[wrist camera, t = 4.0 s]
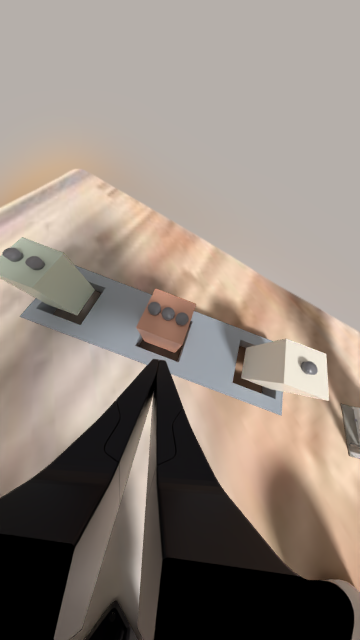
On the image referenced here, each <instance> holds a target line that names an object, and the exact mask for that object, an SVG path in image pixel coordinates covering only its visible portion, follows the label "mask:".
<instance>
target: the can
mask: <svg viewBox="0 0 360 640" xmlns="http://www.w3.org/2000/svg"><path fill="white" fill-rule="evenodd" d="M328 581H334V582H336V583H337V584H338V585H339V586H340V587H341V588H342V589H343V591H344V592H345V593H346V594H347V596H348V597H349V599H350V601H351V604H352V607H353V610H354V629H353V635H352V640H360V592H359V591H358V590H357V589H356V588H355V587H354V586H352V585H351V584H350V583H349V582H347V581H343V580H339V579H337V580H333V579H329V580H328Z"/></svg>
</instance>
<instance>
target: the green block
mask: <svg viewBox="0 0 360 640" xmlns="http://www.w3.org/2000/svg"><path fill="white" fill-rule="evenodd" d="M0 279H2V280H4V281H6V282H8V283H9V284H11V285H13V286H15V287H17V288H18V289H20V290H22V291H24V292H26V293H28V294H29V295H31V296H33V297H35V298H37V299H38V300H40V301H42V302H44V303H46V304H48V305H50V306H53V307H56V308H58V309H61V310H64V311H66V312H69V313H71V314H74V315H78V314H79V312H80V311H81V310H82V308H83V307H84V305H85V304H86V302H87V301H88V300H89V298H90V297H91V295H92V294H93V292H94V291H95V289H94V288H93V287H92V286H91V284H90V283H89V282H88V281H87V280H86V279H85V277H84V276H83V275H82V274H81V273H80V271H79V270H78V269H77V268H76V267H75V266H74V264H73V263H72V262H71V261H70V260H69V258H68V257H67V256H66V255H65V254H64V253H62V252H60V251H57V250H55V249H52V248H49V247H47V246H44V245H42V244H39V243H36V242H34V241H31V240H29V239H26V238H23V237H22V238H21V239H20V240H18V241H17V242H16V243H15V244H14V245H13V246H12V247H10V248H8V249H6V250H4V251H3V254H2V255H1V256H0Z"/></svg>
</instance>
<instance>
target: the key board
mask: <svg viewBox="0 0 360 640" xmlns="http://www.w3.org/2000/svg"><path fill="white" fill-rule="evenodd" d="M74 266H75V265H74ZM75 267H76V268H77V269H78V270H79V271H80V273H81V274H82V275H83V276H84V277H85V279H86V280H87V281H88V282H89V283H90V284H91V286H92V287H93V288H94V289H95V291H98V292H100V293H102V294H101V295H100V297H99V298H98V300H97V301H96V303H95V304H94V306H93V307H92V309H91V310H90V312H89V313H88V315H87V316H86V318H85V319H84V321H83V322H82V324H81V325H79V324H76V323H74V322H71V321H68V320H66V319H63V318H61V317H58V316H55V315H53V313H54V312H55V310H56V309H57V308H56V307H53V306H50V305H48V304H46V303H44V302H42V301H40V300H38V299H37V298H35V300H34V301H33V302H32V303H31V304H30V305H29V306H28V308H27V309H26V310H25V311H24V312H23V313H22V314H21V316H20V317H22V318H24V319H27V320H30V321H32V322H35V323H38V324H40V325H43V326H46V327H48V328H51V329H54V330H56V331H59V332H61V333H64V334H67V335H69V336H72V337H75V338H77V339H80V340H83V341H85V342H88V343H91V344H93V345H96V346H98V347H101V348H104V349H106V350H109V351H112V352H114V353H117V354H120V355H122V356H125V357H128V358H130V359H133V360H136V361H138V362H141V363H143V364H146V365H148V364H149V363H150V361H151V360H152V359H159V360H165V361H166V362H167V365H168V368H169V370H170V373H171V374H173V375H175V376H178V377H180V378H183V379H186V380H188V381H191V382H194V383H196V384H199V385H202V386H204V387H207V388H210V389H212V390H215V391H217V392H220V393H223V394H225V395H228V396H231V397H233V398H236V399H239V400H241V401H244V402H247V403H249V404H252V405H255V406H257V407H260V408H262V409H265V410H268V411H270V412H273V413H276V414H278V415H281V416H282V397H283V392H282V391H277V390H272V389H269V388H266V387H264V386H262V394H261V393H258V392H256V391H253V390H250V389H248V388H245V387H242V386H240V385H237V384H235V383H232V382H233V377H234V371H235V366H236V360H237V355H238V350H239V346H242V347H244V348H247V347H251V346H256V345H260V344H264V343H269V342H273V341H271V340H268V339H266V338H263V337H261V336H258V335H255V334H253V333H250V332H247V331H245V330H242V329H240V328H237V327H234V326H232V325H229V324H227V323H224V322H221V321H219V320H216V319H214V318H211V317H208V316H206V315H203V314H201V313H198V312H195V311H194V312H193V315H192V318H191V321H190V324H189V328H188V331H187V334H186V337H185V340H184V343H183V346H182V349H181V351H180V354H179V357H178V360H177V361H174V360H171V359H169V358H166V357H163V356H161V355H158V354H155V353H153V352H150V351H148V350H145V349H142V348H140V347H139V345H140V343H141V341H142V339H143V338H142V336H141V335H140V333H139V331H138V330H137V328H136V326H137V324H138V322H139V320H140V318H141V316H142V314H143V312H144V310H145V308H146V306H147V304H148V302H149V300H150V298H151V296H152V295H151V294H148V293H146V292H143V291H141V290H138V289H135V288H133V287H130V286H128V285H125V284H122V283H120V282H117V281H114V280H112V279H109V278H107V277H104V276H101V275H99V274H96V273H94V272H91V271H88V270H86V269H83V268H81V267H78V266H75Z"/></svg>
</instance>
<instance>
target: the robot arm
mask: <svg viewBox="0 0 360 640" xmlns="http://www.w3.org/2000/svg"><path fill="white" fill-rule="evenodd" d="M153 393H154V394H153ZM152 397H153V404H152V419H151V434H150V449H149V464H148V478H147V493H146V508H145V523H144V538H143V553H142V567H141V582H140V597H139V612H138V625H137V628H138V630H139V632H140V634H141V636H142V638H143V640H352V635H353V629H354V610H353V607H352V604H351V601H350V599H349V597H348V596H347V594H346V593H345V592H344V591H343V589H342V588H341V587H340V586H339V585H338V584H337V583H336V582H334V581H328V580H306V579H304V578H302V577H301V576H299V575H298V574H296V573H295V572H293V571H292V570H291V569H290V568H289V567H288V566H287V565H286V564H285V563H284V562H283V561H282V560H281V559H280V558H279V557H278V556H277V555H276V553H275V552H274V551H273V550H272V549H271V547H270V546H269V545H268V544H267V542H266V541H265V540H264V539H263V538H262V536H261V535H260V534H259V533H258V532H257V530H256V529H255V528H254V527H253V525H252V524H251V523H250V522H249V521H248V519H247V518H246V517H245V516H244V515H243V513H242V512H241V511H240V510H239V508H238V507H237V506H236V505H235V504H234V502H233V501H232V500H231V499H230V498H229V496H228V495H227V494H226V492H225V491H224V490H223V488H222V487H221V485H220V484H219V482H218V480H217V479H216V477H215V475H214V473H213V471H212V469H211V467H210V465H209V463H208V461H207V459H206V457H205V455H204V453H203V451H202V449H201V447H200V445H199V443H198V441H197V439H196V437H195V435H194V433H193V431H192V428H191V426H190V424H189V421H188V419H187V416H186V414H185V411H184V409H183V406H182V403H181V400H180V398H179V395H178V392H177V389H176V387H175V384H174V381H173V379H172V376H171V373H170V370H169V368H168V365H167V362H166V361H165V360H159V359H152V360H151V361H150V363H149V364H148V365H147V366H146V367H145V368H144V369H143V370H142V372H141V373H140V374H139V375H138V376H137V377H136V378H135V379H134V380H133V382H132V383H131V384H130V385H129V386H128V387H127V388H126V389H125V391H124V392H123V393H122V394H121V395H120V396H119V397H118V398H117V400H116V401H115V402H114V403H113V404H112V405H111V406H110V407H109V408H108V409H107V410H106V412H105V413H104V414H103V415H102V416H101V417H100V418H99V419H98V420H97V421H96V422H95V423H94V424H93V425H92V426H91V427H90V428H88V429H87V430H86V431H85V432H84V433H83V434H82V435H81V436H80V437H79V438H78V439H77V440H76V441H75V442H73V443H72V444H71V445H70V446H69V447H68V448H67V449H66V450H65V451H64V452H63V453H62V454H61V455H60V456H58V457H57V458H56V459H55V460H54V461H53V462H52V463H51V464H50V465H48V466H47V467H46V468H45V469H44V470H42V471H41V472H40V473H38V474H37V475H36V476H34V477H33V478H31V479H30V480H28V481H27V482H25V483H24V484H22V485H20V486H19V487H17V488H16V489H14V490H12V491H11V492H9V493H8V494H6V495H4V496H3V497H1V498H0V640H70V639H71V638H72V637H73V636H75V635H76V634H77V633H78V632H79V631H80V630H82V627H83V624H84V621H85V617H86V614H87V611H88V607H89V604H90V601H91V598H92V594H93V591H94V588H95V584H96V581H97V578H98V575H99V571H100V568H101V565H102V561H103V558H104V555H105V552H106V548H107V545H108V542H109V538H110V535H111V532H112V529H113V525H114V522H115V519H116V516H117V512H118V509H119V504H120V502H121V499H122V496H123V493H124V489H125V486H126V483H127V479H128V476H129V473H130V470H131V466H132V463H133V460H134V456H135V453H136V450H137V447H138V443H139V440H140V437H141V433H142V430H143V427H144V424H145V420H146V417H147V414H148V411H149V407H150V404H151V401H152ZM112 612H114V613H115V614H112ZM85 640H138V639H137V637H136V635H135V633H134V631H133V629H132V627H131V626H130V624H129V622H128V620H127V618H126V617H125V615H124V613H123V611H122V609H121V607H120V605H119V603H118V602H117V601H114V602H112V603H111V605H110V606H109V607H108V609H107V610H106V611H105V613H104V614H103V616H102V617H101V618H100V620H99V621H98V622H97V624H96V625H95V626H94V628H93V629H92V630H91V632H90V633H89V635H88V636H87V637H86V639H85Z"/></svg>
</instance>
